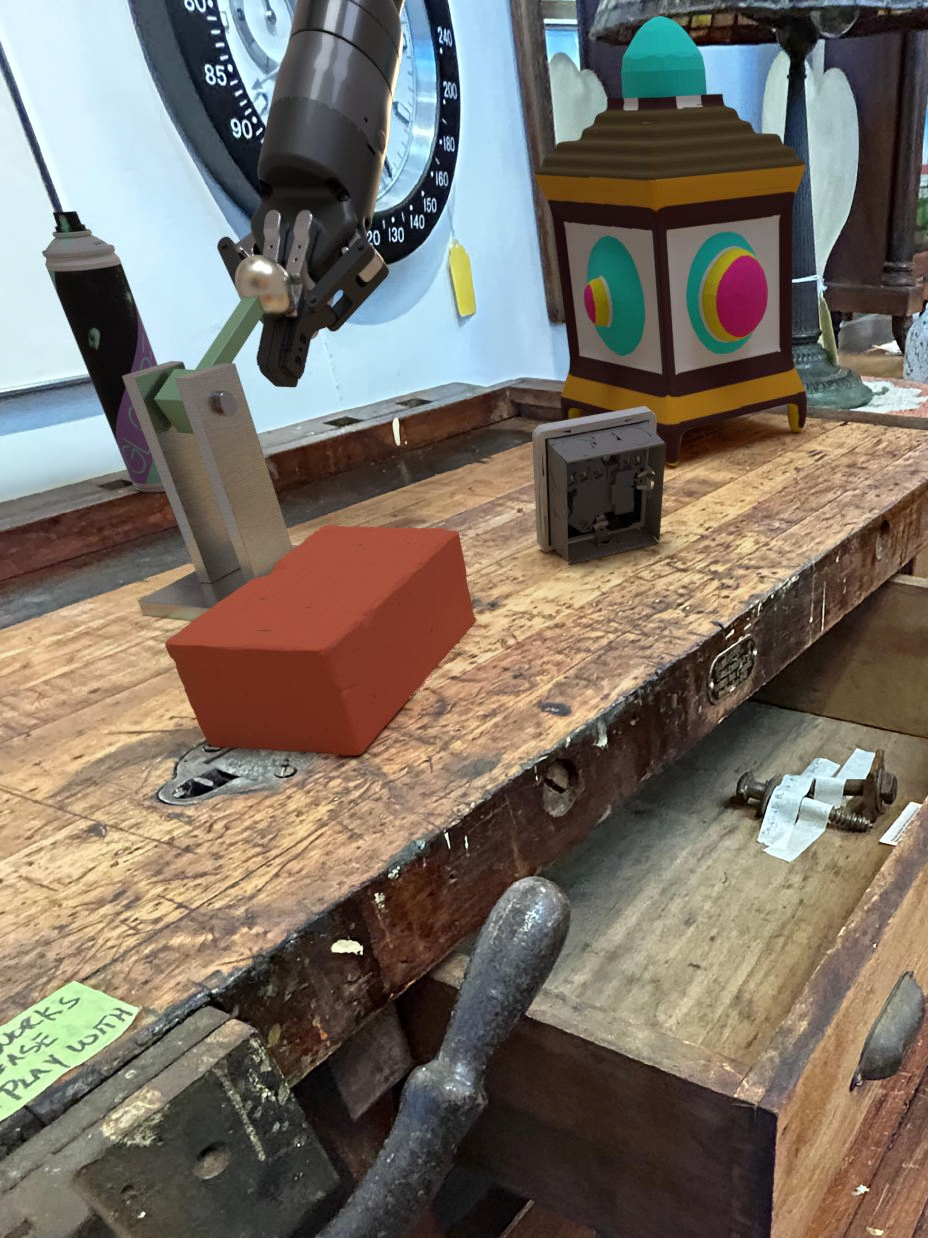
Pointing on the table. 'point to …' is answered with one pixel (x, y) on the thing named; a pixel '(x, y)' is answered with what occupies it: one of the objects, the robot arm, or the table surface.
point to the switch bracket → (210, 486)
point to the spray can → (104, 333)
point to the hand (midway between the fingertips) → (277, 379)
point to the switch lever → (235, 326)
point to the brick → (326, 640)
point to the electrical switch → (598, 483)
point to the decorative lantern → (675, 250)
